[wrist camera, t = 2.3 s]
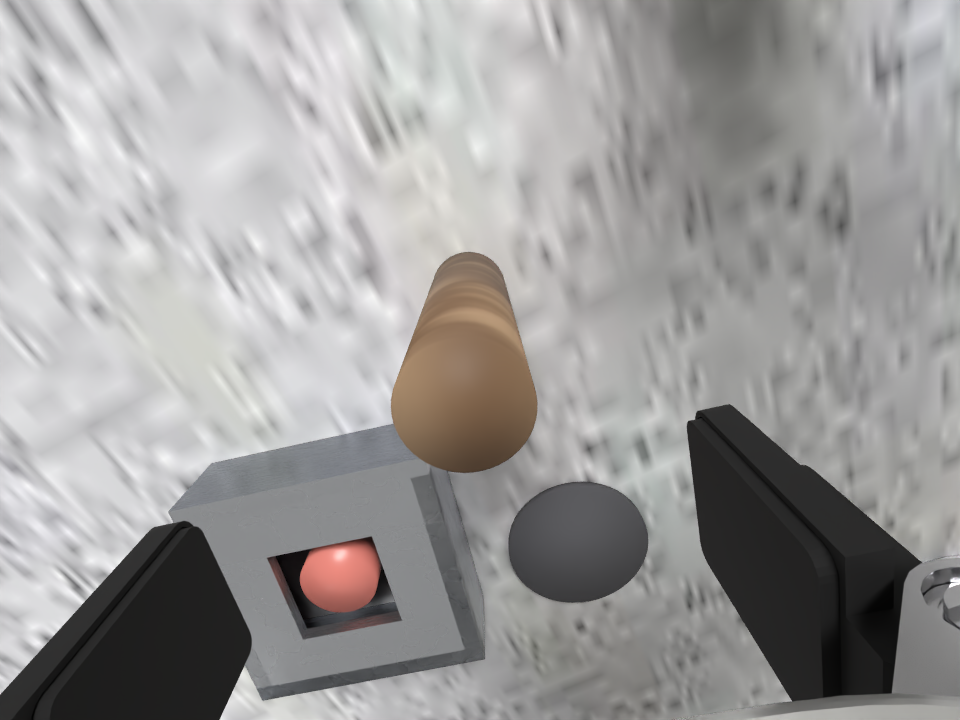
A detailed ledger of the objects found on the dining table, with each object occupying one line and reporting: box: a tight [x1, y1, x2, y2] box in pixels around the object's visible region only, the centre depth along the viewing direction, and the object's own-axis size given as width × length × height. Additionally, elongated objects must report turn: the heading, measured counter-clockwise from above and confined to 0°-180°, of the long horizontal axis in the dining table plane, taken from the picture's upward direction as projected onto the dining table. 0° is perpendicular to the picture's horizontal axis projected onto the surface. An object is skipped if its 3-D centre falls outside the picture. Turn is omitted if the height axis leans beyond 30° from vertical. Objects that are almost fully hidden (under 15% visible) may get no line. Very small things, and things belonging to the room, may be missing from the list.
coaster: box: [509, 482, 648, 602], centre depth 35 cm, size 9×9×1 cm
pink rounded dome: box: [300, 536, 382, 613], centre depth 32 cm, size 4×4×2 cm
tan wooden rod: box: [391, 252, 537, 473], centre depth 22 cm, size 4×4×16 cm
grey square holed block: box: [169, 424, 485, 700], centre depth 33 cm, size 14×14×5 cm
